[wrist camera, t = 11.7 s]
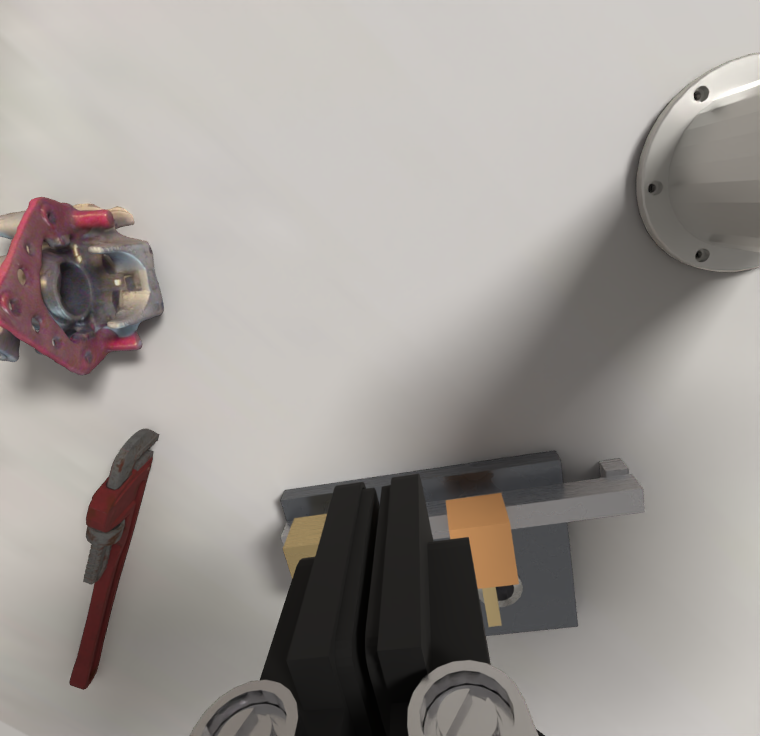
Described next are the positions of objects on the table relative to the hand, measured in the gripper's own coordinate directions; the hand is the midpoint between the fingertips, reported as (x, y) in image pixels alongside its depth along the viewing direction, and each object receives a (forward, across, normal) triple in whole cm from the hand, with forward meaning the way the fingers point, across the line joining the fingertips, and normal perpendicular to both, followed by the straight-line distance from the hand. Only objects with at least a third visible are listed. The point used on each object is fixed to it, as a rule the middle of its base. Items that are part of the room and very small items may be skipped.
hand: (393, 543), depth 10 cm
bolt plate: (+27, -1, +22) cm, 35 cm away
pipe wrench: (+28, +30, +19) cm, 45 cm away
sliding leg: (+25, -2, +20) cm, 32 cm away
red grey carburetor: (+27, +22, -6) cm, 35 cm away
